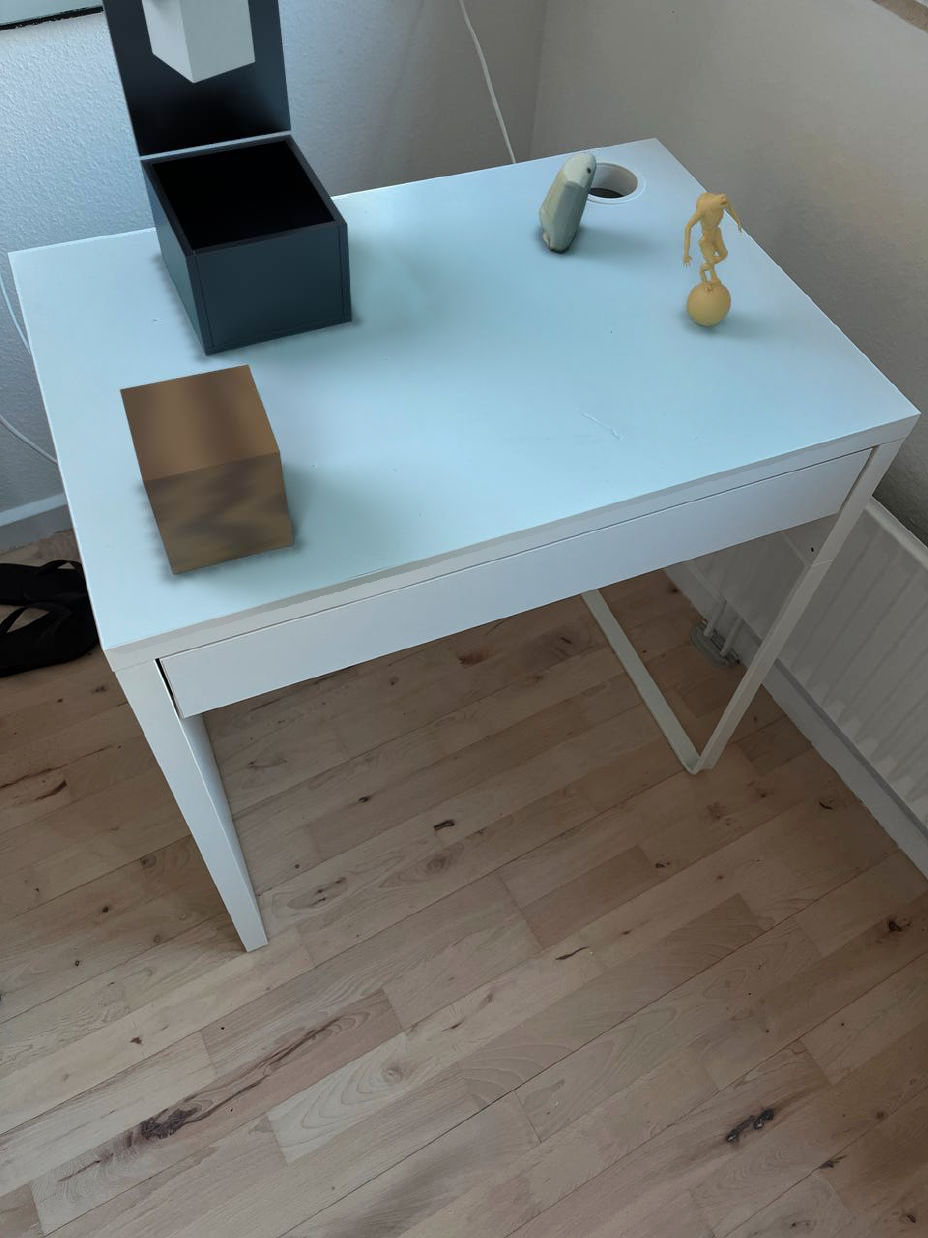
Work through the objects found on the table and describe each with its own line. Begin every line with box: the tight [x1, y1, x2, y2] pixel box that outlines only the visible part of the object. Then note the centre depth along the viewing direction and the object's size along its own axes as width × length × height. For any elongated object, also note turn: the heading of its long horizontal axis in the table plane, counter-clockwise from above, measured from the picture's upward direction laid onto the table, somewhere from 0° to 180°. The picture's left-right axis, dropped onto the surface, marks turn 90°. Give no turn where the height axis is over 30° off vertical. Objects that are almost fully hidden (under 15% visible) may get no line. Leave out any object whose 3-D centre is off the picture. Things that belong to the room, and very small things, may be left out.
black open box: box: [139, 133, 353, 356], centre depth 83 cm, size 15×14×10 cm
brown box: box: [119, 364, 294, 575], centre depth 68 cm, size 9×9×10 cm
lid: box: [100, 0, 292, 157], centre depth 77 cm, size 15×14×4 cm
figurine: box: [682, 191, 743, 327], centre depth 84 cm, size 8×6×12 cm
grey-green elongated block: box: [538, 151, 598, 255], centre depth 91 cm, size 6×5×8 cm
